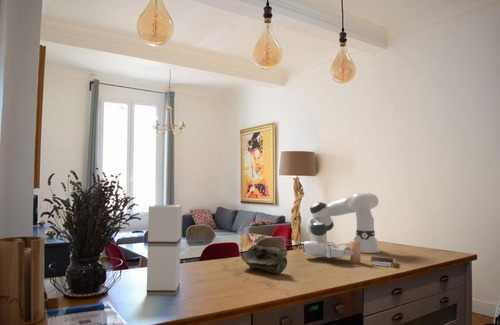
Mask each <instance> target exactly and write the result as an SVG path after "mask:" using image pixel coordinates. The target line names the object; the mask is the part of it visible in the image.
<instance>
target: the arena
mask: <svg viewBox="0 0 500 325" xmlns="http://www.w3.org/2000/svg"><path fill="white" fill-rule="evenodd" d="M370 260H371V261H370V262H371V266H373V267H374V266H376V267H386V268H387V267H388V268H391V267H392V268H393V269H394V268H397V258H394V257H382V256H380V257H379V256H370Z"/></svg>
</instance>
